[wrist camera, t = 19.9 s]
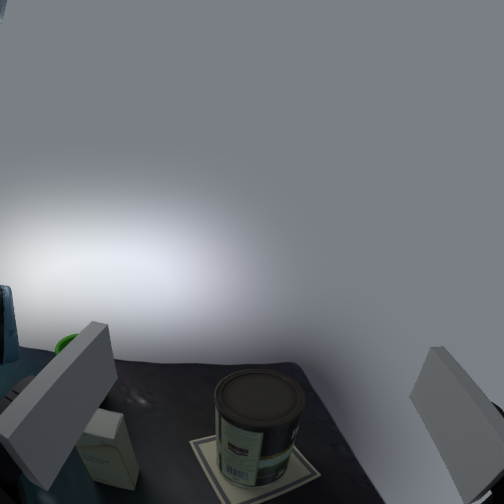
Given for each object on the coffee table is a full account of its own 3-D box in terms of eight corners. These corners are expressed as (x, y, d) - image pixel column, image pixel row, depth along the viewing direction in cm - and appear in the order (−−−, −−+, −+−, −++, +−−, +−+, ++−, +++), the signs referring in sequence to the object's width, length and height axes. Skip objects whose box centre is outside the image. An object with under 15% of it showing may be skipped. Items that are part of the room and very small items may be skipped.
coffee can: (285, 437, 38) (300, 369, 35) (290, 489, 28) (312, 427, 25) (218, 434, 38) (219, 365, 35) (211, 486, 28) (208, 422, 25)
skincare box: (93, 481, 25) (62, 426, 22) (100, 459, 29) (76, 402, 26) (136, 491, 25) (113, 439, 22) (141, 467, 30) (123, 412, 27)
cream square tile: (189, 442, 36) (189, 440, 36) (270, 419, 43) (270, 418, 43) (228, 514, 24) (228, 513, 24) (320, 475, 31) (321, 474, 31)
